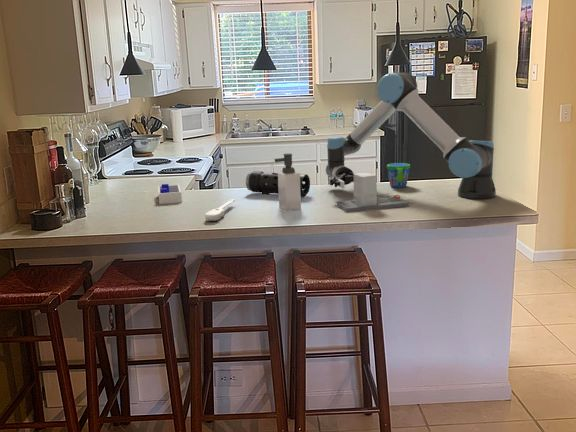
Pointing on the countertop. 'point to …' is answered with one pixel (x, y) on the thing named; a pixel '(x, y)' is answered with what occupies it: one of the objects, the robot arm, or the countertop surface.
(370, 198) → the small box
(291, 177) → the soap dispenser
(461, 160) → the robot arm
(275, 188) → the muzzle brake
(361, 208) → the socket strip
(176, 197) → the box
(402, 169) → the snack cup
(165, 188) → the cable clip
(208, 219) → the white spoon
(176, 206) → the countertop surface
